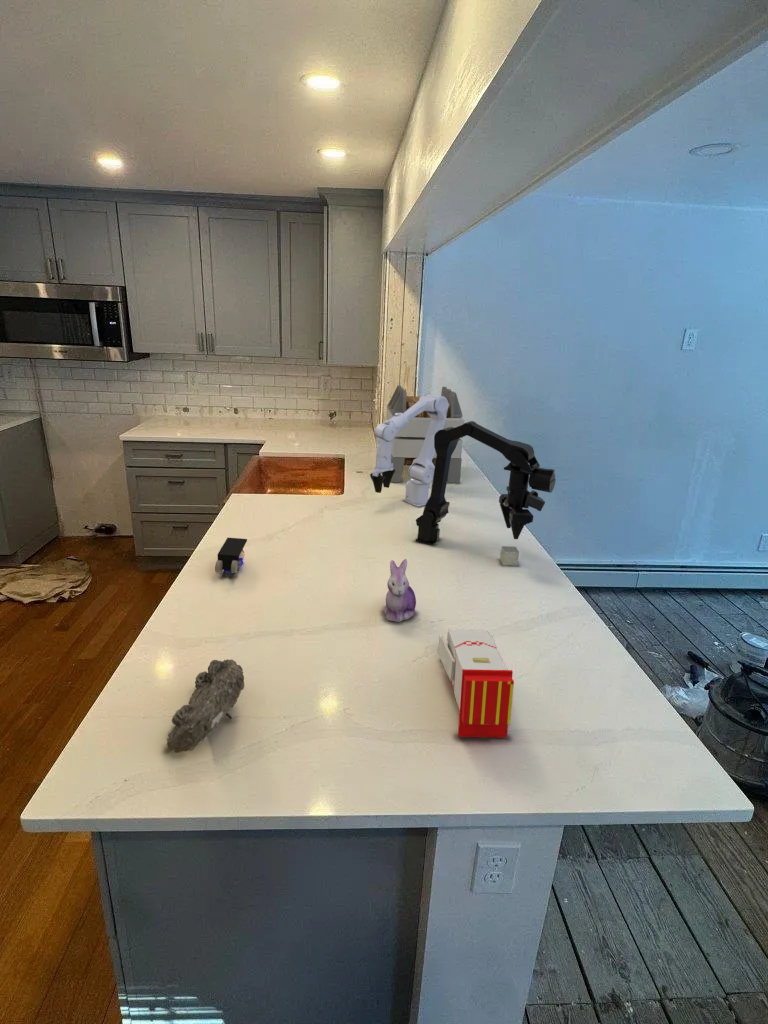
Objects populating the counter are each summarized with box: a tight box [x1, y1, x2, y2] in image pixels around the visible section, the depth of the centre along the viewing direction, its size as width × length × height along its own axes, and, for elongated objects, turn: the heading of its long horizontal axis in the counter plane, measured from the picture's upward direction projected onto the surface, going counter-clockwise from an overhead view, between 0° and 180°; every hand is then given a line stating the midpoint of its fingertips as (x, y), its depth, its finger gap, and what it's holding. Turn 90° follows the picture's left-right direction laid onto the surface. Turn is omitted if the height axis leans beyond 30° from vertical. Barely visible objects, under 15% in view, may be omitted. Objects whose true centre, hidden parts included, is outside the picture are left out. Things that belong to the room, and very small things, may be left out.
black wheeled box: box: [214, 537, 248, 578], centre depth 166 cm, size 7×8×15 cm
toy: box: [437, 628, 515, 738], centre depth 117 cm, size 12×13×30 cm
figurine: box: [384, 558, 417, 623], centre depth 145 cm, size 9×10×15 cm
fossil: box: [166, 658, 245, 754], centre depth 106 cm, size 22×10×15 cm
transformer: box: [385, 384, 465, 484], centre depth 268 cm, size 34×33×41 cm
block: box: [499, 545, 520, 567], centre depth 180 cm, size 5×4×5 cm
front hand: (512, 533), depth 177 cm, fingers open, 9 cm apart
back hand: (382, 489), depth 220 cm, fingers open, 7 cm apart
